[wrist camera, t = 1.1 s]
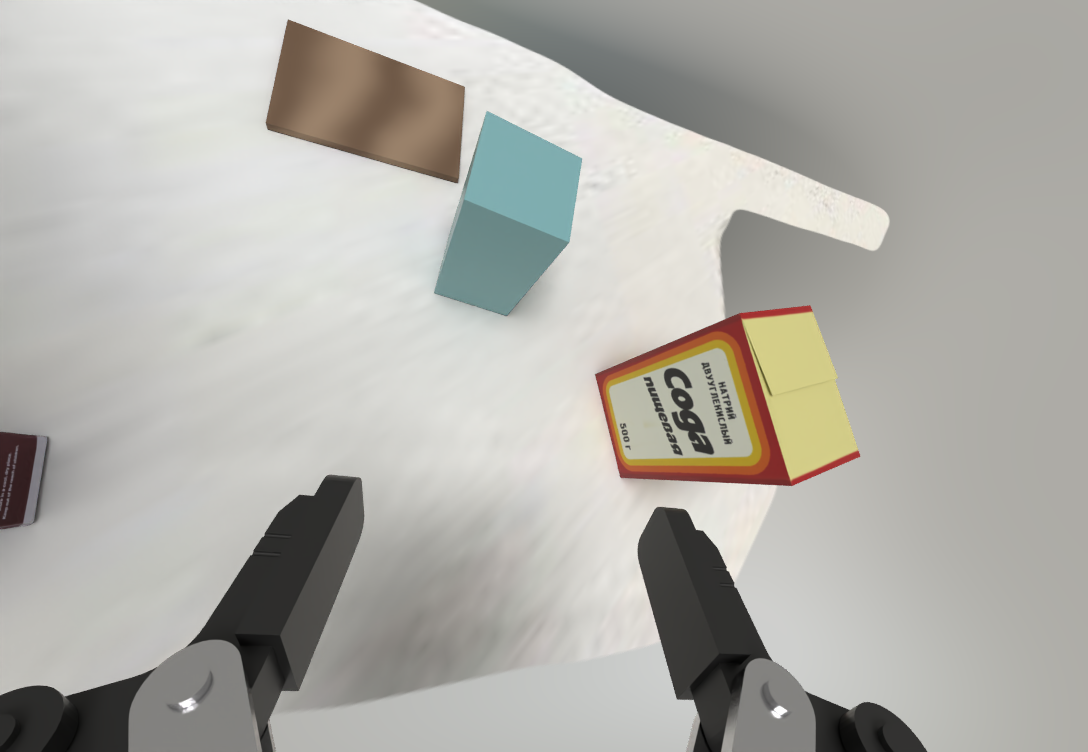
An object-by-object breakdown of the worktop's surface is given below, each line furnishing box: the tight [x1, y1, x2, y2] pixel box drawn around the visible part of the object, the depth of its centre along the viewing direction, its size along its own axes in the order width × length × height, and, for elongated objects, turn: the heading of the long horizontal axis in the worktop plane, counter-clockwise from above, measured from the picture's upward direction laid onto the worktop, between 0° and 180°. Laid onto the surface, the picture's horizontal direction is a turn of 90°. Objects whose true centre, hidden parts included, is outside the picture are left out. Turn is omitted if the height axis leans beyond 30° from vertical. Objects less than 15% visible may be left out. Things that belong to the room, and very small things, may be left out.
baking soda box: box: [595, 306, 860, 486], centre depth 29 cm, size 10×6×16 cm
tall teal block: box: [434, 111, 582, 316], centre depth 27 cm, size 6×6×12 cm
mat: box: [266, 20, 465, 183], centre depth 32 cm, size 14×10×1 cm
